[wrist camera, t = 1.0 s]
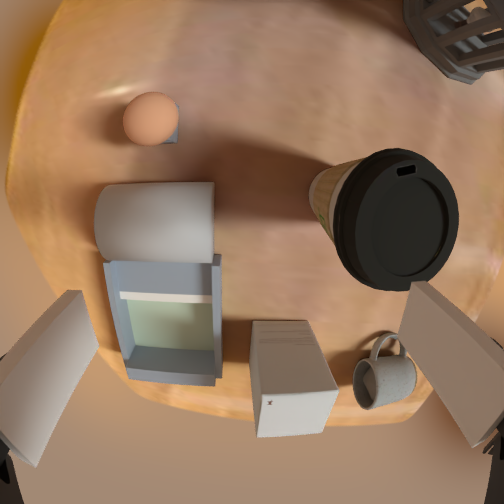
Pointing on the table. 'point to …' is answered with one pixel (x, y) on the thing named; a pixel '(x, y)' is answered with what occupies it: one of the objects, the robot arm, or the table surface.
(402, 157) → the coffee cup
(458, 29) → the lantern
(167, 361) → the grey molded pieces
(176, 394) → the table surface
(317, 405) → the supplement box
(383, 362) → the ceramic mug
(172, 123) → the ball
